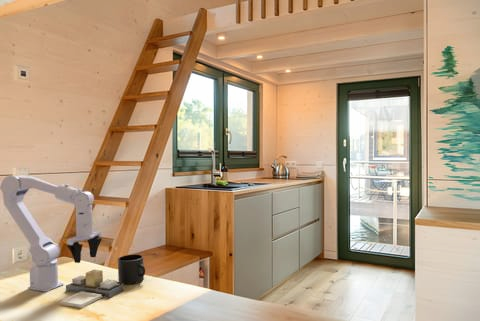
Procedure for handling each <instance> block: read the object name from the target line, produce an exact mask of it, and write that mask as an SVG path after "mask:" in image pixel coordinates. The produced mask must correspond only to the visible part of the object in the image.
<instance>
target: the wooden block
mask: <svg viewBox="0 0 480 321" xmlns="http://www.w3.org/2000/svg"><path fill="white" fill-rule="evenodd" d="M85 276H86V287H87V288H93V289H95V288H97V287H100V283H101V282H103V281H104V280H103V279H104V275H103V270H100V269H91V270H89V271H87V272H85Z"/></svg>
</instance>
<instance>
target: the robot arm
mask: <svg viewBox="0 0 480 321" xmlns="http://www.w3.org/2000/svg"><path fill="white" fill-rule="evenodd" d="M30 189H33V190H38V191H41V192H45V193H48V194H52V195H54V198H56V199H57V200H59V201H63V202H65V203H68V204H71V205H73V206H74V207H75V225H76V227H75V228H76V229H75V231H76V235H75V236H73V237H71V238H68V239H66V242H67V243H66V245H67V246H66V247H67V248H68V250H69V251H70V252H71V255H72V258H73V261H74V263H75V264H80V263H81V258H82V249H83V247H84V245H83V244H80V243H82V242H84V241H87V243H88V247H89V256H90V258H96V257H97V253H98V249H99V246H100V244H101V242H102V231H94V225H93V223H94V220H93V218H94V217H93V216H94V215H93V203H94V202H95V196H94V194H93V193H92V192H90V191H89V190H84V191H82V190H83V189H82V188H75V187H72V186H71V185H70V184H69V183H65V184H60V185H56V184H53V183H50V182H48V181H46V180H43V179H42V178H38V177H36V176H32V175H27V174H18V175H8V176H5V177H4V178H3V179H2V181H1V183H0V191H1V192H2V200H3V205H4V207H5V208H6V210H7V211H8V213H9V214H10V216H11V218H12V219H13V220H14V222H15V223H16V224H17V226H18V228H19V229H20V231H21V232H22V233H23V235H24V237H25V238H26V239H27V241H28V243H29V249H28V250H29V253H30V254H31V255H30V256H31V260H32V262H33V263H34V264H32V265H31V267H30V269H29V286H28V287H27V289H28V290H33V291H40V292H48V291H51V290H54V289H56V288H59V287H60V286H63V285H64V282H59V268H58V266H59V265H58V257H59V256H60V254H61V248H60V246H59V244H57V243H55V242H54V241H53V240H52V239H51V238H50V237H48V236H46V235H45V233H43V231H42V229H41V228H40V227H39V225H38V223H37V222H36V220H35V219H34V217H33V215H32V214H31V213H30V211H29V210H28V208H27V206H26V205H25V203H24V202H23V201H24V198H25V195H26V194H27V193H28V192H29V191H30Z"/></svg>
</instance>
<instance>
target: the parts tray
mask: <svg viewBox="0 0 480 321" xmlns="http://www.w3.org/2000/svg"><path fill="white" fill-rule="evenodd" d="M102 298H103V297H102V294H95V293H89V292H83V291H81V292H79V293H75V294H73V295H70V296H69V297H66V298H64V299H61V300H60V306H66V307H72V308H77V309H83V308H84V307H87V306H88V305H91V304H93V303H94V302H96V301H98V300H101V299H102Z"/></svg>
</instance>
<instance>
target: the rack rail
mask: <svg viewBox="0 0 480 321" xmlns="http://www.w3.org/2000/svg"><path fill="white" fill-rule="evenodd" d="M71 281H72V282H71V283H69V284H66V285H65V292H71V293H75V294H77V293H79V292H81V291H83V292H89V293H95V294H102V298H109V299H111V298H112V297H114V296H116V295H118V294H120V293H122V292H124V284H120V283H119V284H118V280H117V279H116V280H115V279H110V278H109V279H106V280H103V282H101V283H100V287H97V288H95V289H93V288H87V287H86V275H79V276H76V277H74V278H72V280H71Z"/></svg>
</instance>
